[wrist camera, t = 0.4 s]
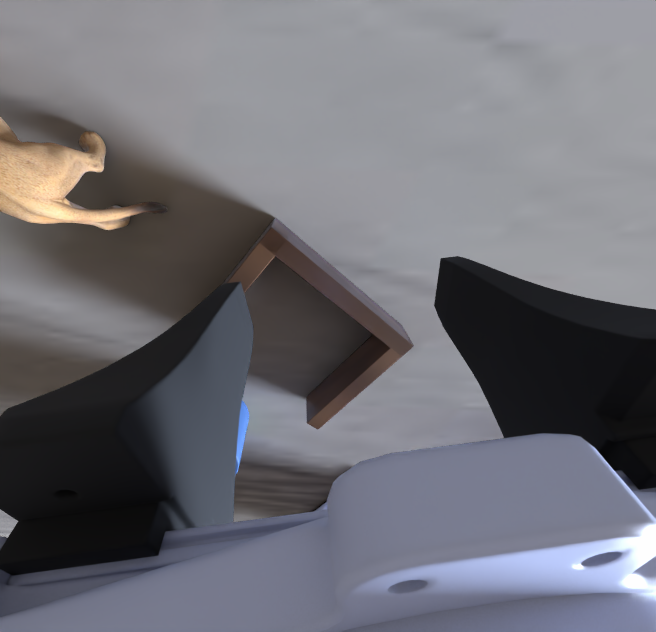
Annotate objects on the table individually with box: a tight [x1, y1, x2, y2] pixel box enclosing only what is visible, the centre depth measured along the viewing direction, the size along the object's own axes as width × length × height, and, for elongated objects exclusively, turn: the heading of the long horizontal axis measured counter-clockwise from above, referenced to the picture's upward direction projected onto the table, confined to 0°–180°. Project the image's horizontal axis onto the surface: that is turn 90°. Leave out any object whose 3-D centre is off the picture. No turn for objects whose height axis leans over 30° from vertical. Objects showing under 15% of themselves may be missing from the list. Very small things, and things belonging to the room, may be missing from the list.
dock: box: [223, 218, 414, 429], centre depth 23 cm, size 10×12×3 cm
